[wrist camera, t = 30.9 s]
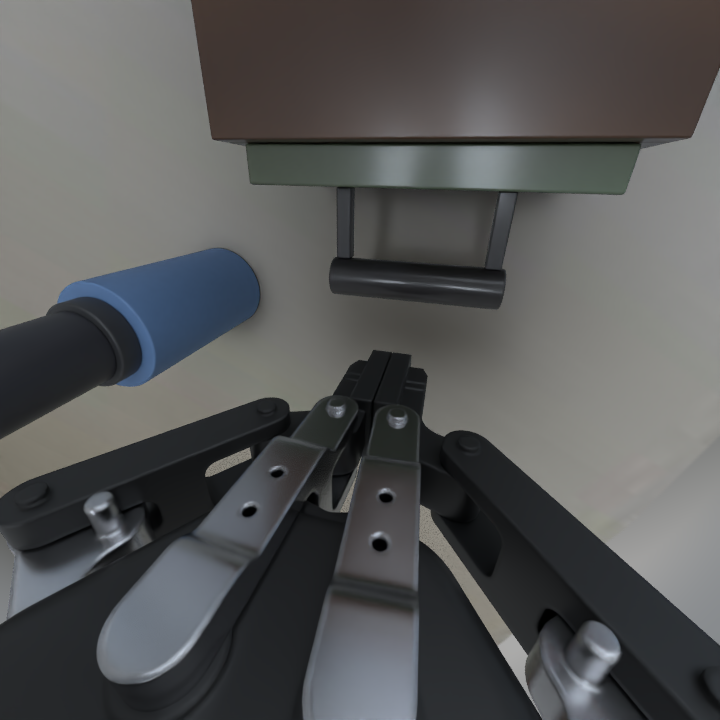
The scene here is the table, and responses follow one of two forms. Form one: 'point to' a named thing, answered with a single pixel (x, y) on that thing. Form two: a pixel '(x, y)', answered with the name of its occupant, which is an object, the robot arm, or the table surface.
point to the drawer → (439, 172)
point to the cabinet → (456, 70)
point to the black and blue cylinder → (121, 330)
